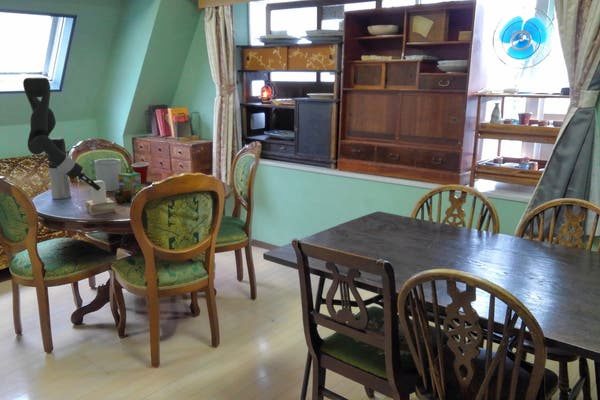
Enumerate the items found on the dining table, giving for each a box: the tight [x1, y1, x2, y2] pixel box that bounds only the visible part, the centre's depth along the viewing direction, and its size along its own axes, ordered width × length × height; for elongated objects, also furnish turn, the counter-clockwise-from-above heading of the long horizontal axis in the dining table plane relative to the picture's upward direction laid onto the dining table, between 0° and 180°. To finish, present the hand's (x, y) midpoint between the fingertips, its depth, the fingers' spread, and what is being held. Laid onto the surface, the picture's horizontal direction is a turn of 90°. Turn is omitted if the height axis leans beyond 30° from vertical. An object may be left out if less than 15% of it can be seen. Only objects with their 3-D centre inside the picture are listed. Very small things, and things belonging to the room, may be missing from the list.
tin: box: [90, 180, 108, 203], centre depth 248 cm, size 6×6×10 cm
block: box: [85, 197, 116, 216], centre depth 250 cm, size 11×11×5 cm
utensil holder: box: [94, 157, 122, 192], centre depth 299 cm, size 15×15×18 cm
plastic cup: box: [131, 161, 150, 183], centre depth 319 cm, size 11×11×12 cm
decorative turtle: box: [113, 188, 134, 205], centre depth 268 cm, size 10×15×8 cm, turn 47°
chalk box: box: [118, 167, 142, 195], centre depth 288 cm, size 9×9×15 cm
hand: (97, 187), depth 247 cm, fingers open, 8 cm apart
